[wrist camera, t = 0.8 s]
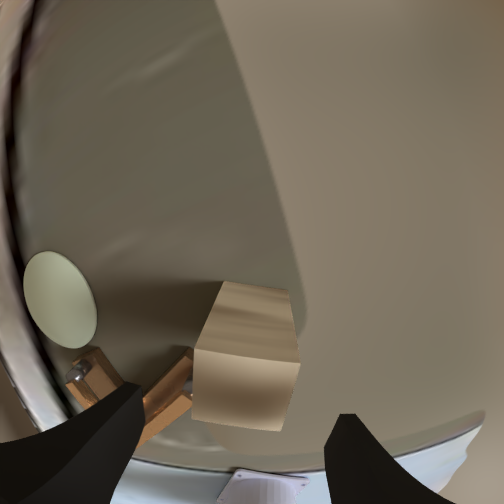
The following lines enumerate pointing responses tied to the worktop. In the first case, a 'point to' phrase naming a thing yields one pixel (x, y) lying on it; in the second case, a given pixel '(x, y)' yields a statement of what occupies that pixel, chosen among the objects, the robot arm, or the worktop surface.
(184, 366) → the copper rod course
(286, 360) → the birch handle block
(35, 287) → the pad
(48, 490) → the robot arm
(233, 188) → the worktop surface
